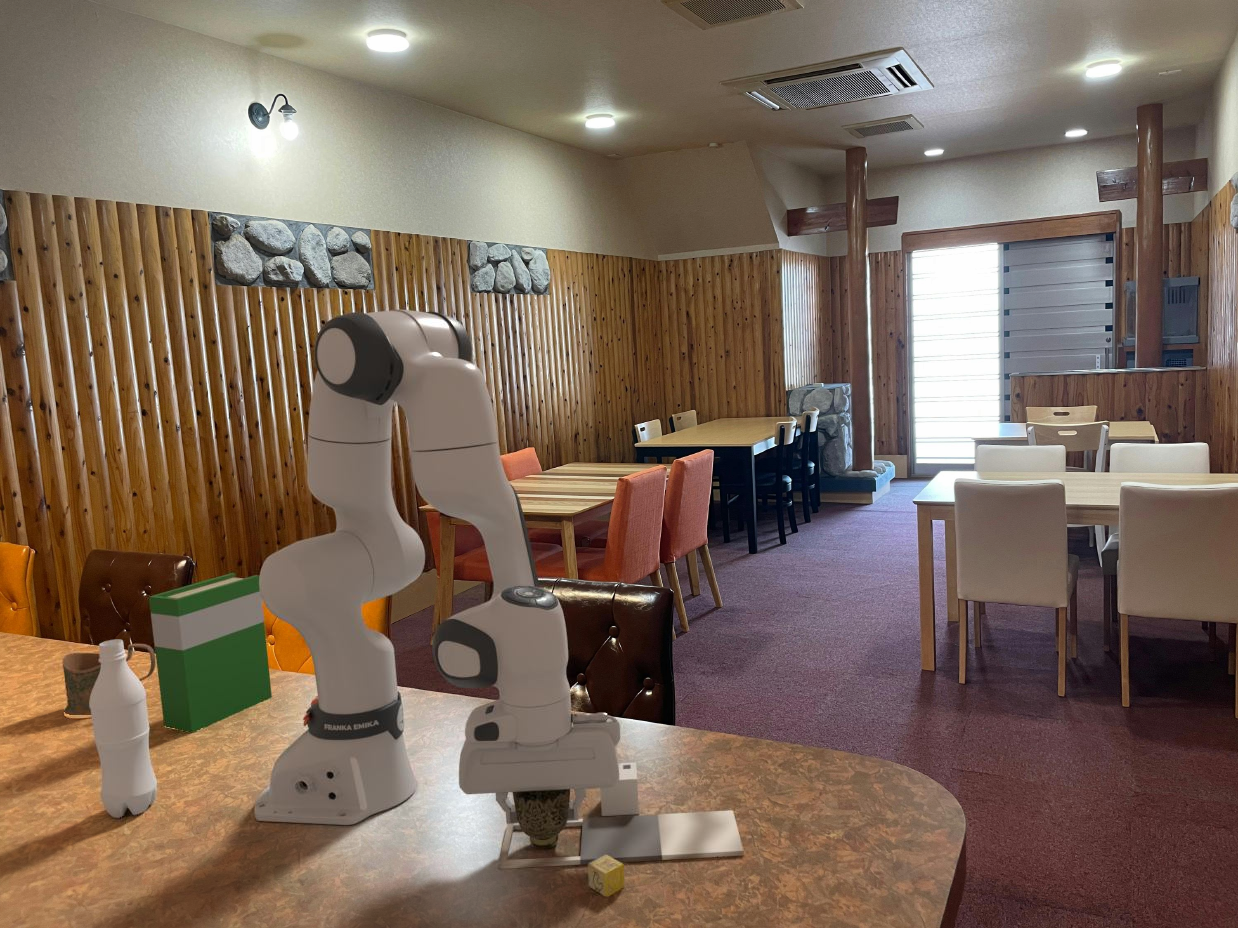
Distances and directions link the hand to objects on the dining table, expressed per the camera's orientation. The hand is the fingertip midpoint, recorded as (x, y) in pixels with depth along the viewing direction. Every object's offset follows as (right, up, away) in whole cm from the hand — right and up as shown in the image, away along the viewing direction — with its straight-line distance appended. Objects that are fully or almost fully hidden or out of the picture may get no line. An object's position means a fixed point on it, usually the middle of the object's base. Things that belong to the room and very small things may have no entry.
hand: (543, 819), depth 116 cm
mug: (-87, -1, +59) cm, 105 cm away
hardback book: (-64, -1, +53) cm, 83 cm away
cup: (0, -3, 0) cm, 4 cm away
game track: (+10, -3, 0) cm, 10 cm away
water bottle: (-61, -5, +16) cm, 63 cm away
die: (+10, -2, +9) cm, 14 cm away
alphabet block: (+8, -4, -10) cm, 13 cm away
